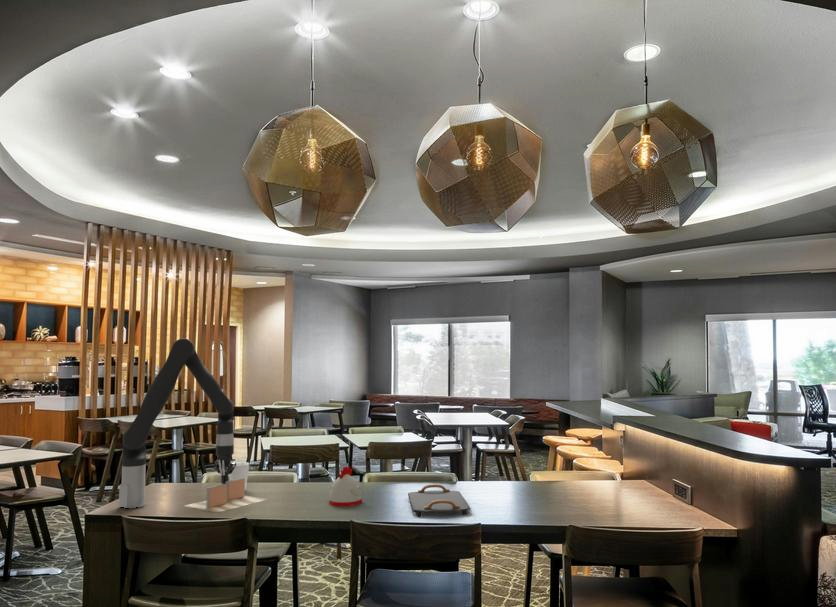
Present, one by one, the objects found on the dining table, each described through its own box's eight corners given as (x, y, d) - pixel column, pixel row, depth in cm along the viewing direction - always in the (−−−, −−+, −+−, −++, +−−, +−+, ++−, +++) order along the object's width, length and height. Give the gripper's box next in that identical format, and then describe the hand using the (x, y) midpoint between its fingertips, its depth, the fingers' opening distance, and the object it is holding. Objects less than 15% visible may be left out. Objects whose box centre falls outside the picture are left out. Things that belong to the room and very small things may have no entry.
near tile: (209, 508, 261) (209, 488, 262) (206, 507, 262) (206, 487, 263) (227, 503, 268) (227, 484, 269) (224, 503, 269) (224, 483, 270)
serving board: (472, 517, 245) (472, 501, 245) (412, 519, 243) (412, 503, 244) (458, 496, 283) (458, 481, 284) (406, 497, 281) (406, 483, 282)
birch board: (217, 514, 253) (217, 512, 253) (182, 508, 266) (182, 505, 266) (268, 501, 276) (268, 499, 276) (234, 496, 288) (234, 493, 288)
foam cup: (241, 495, 290) (241, 465, 291) (223, 494, 293) (224, 465, 294) (252, 490, 299) (253, 462, 300) (235, 489, 302) (236, 461, 303)
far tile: (228, 500, 274) (228, 481, 275) (225, 500, 275) (225, 481, 276) (244, 496, 281) (244, 478, 282) (241, 496, 282) (242, 478, 283)
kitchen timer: (368, 501, 274) (368, 465, 275) (347, 507, 262) (347, 470, 264) (343, 497, 281) (343, 463, 283) (322, 504, 270) (322, 467, 271)
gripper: (208, 444, 285) (207, 483, 283) (228, 445, 277) (227, 486, 276) (221, 442, 291) (221, 480, 289) (241, 443, 284) (241, 483, 282)
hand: (224, 483), depth 283 cm, fingers closed
